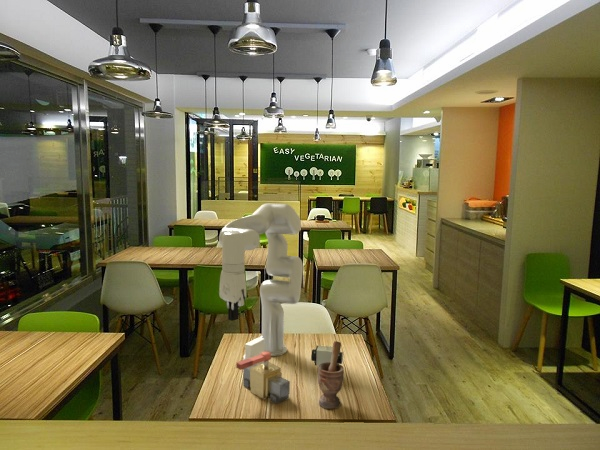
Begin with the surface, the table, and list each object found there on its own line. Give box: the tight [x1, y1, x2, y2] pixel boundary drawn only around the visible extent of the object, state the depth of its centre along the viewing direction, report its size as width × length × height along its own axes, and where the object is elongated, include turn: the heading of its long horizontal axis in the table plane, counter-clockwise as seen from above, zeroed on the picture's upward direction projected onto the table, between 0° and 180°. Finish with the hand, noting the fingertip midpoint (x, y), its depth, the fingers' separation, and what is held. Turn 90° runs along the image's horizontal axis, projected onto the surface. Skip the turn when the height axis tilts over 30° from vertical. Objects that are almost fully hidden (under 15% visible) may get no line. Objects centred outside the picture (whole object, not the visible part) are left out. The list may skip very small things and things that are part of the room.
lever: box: [235, 351, 272, 371], centre depth 157 cm, size 14×4×2 cm, turn 135°
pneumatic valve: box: [310, 345, 344, 367], centre depth 175 cm, size 6×12×12 cm, turn 78°
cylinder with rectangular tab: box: [242, 336, 264, 365], centre depth 178 cm, size 9×9×12 cm
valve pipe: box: [242, 360, 291, 405], centre depth 161 cm, size 20×8×12 cm, turn 45°
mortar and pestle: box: [317, 340, 345, 410], centre depth 155 cm, size 12×9×20 cm
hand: (233, 319), depth 157 cm, fingers closed
